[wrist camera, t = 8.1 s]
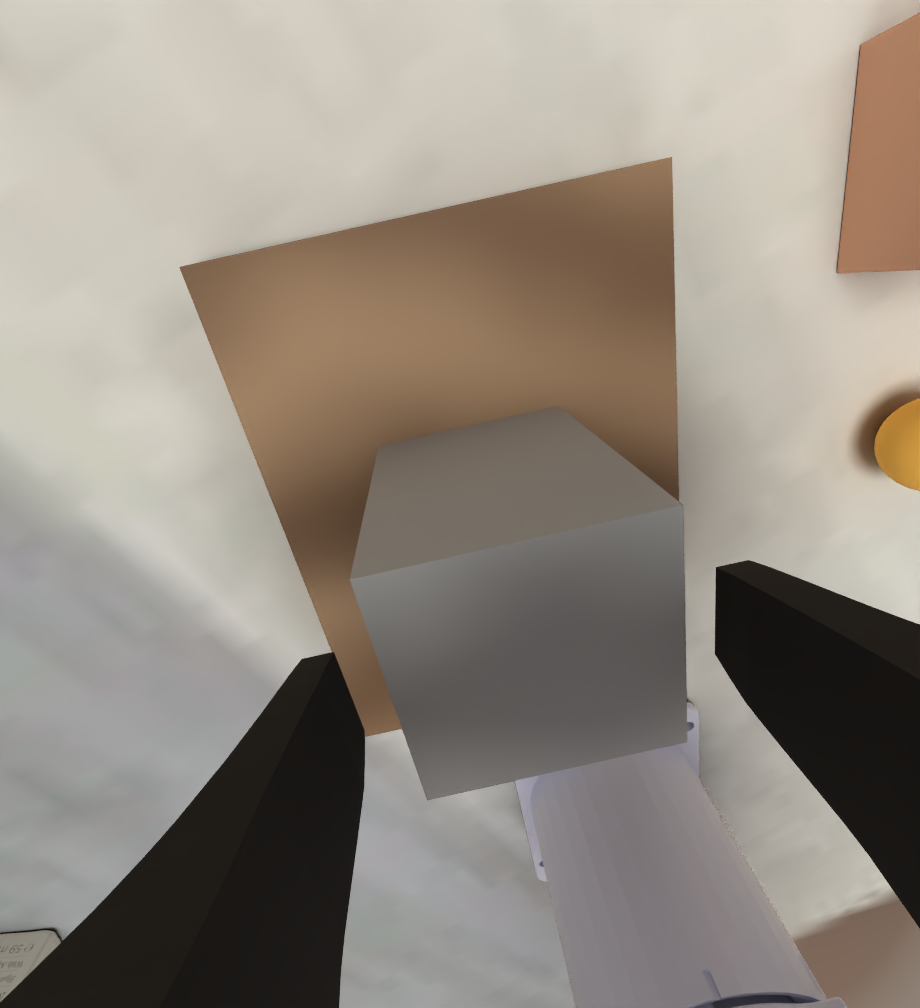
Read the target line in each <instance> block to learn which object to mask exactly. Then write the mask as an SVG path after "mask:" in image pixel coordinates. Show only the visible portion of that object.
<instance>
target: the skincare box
mask: <svg viewBox="0 0 920 1008" xmlns="http://www.w3.org/2000/svg"><path fill="white" fill-rule="evenodd" d="M60 943H61V941H60V939H59V938H58V936H57V935H56V933H55V932H53V931H49V930H41V931H34V932H22V933H8V934H0V1002H1V1001H2V1000H3V999H4V998H5V997H6V996H7V995H8V994H9V993H10V992H11V991H12V990H13V989H14V988H15V987H16V986H17V985H18V984H19V983H20V982H21V981H22V980H23V979H24V978H25V977H27V976H28V975H29V974H30V973H31V972H32V971H33V970H34V969H35V968H36V967H37V966H38V965H39V964H40V963H41V962H42V961H43V960H44V959H45V958H46V957H47V956H48V955H49V954H50V953H51V952H52V951H53V950H54V949H55V948H56V947H57V946H58V945H59V944H60Z"/></svg>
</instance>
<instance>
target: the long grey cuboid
mask: <svg viewBox="0 0 920 1008" xmlns="http://www.w3.org/2000/svg"><path fill="white" fill-rule="evenodd" d="M350 582H351V585H352V588H353V591H354V594H355V596H356V599H357V602H358V605H359V608H360V611H361V613H362V616H363V619H364V622H365V625H366V628H367V630H368V633H369V636H370V639H371V642H372V645H373V647H374V650H375V653H376V656H377V659H378V662H379V664H380V667H381V670H382V673H383V676H384V679H385V681H386V684H387V687H388V690H389V693H390V696H391V698H392V701H393V704H394V707H395V710H396V713H397V715H398V718H399V721H400V724H401V727H402V730H403V732H404V735H405V738H406V741H407V744H408V747H409V749H410V752H411V755H412V758H413V761H414V764H415V767H416V769H417V772H418V775H419V778H420V781H421V784H422V786H423V789H424V792H425V795H426V798H427V800H431V799H435V798H440V797H444V796H449V795H453V794H458V793H462V792H467V791H471V790H476V789H480V788H485V787H489V786H493V785H498V784H502V783H507V782H511V781H516V780H520V779H525V778H529V777H534V776H538V775H543V774H547V773H552V772H556V771H561V770H565V769H570V768H574V767H579V766H583V765H588V764H592V763H597V762H601V761H606V760H610V759H615V758H619V757H624V756H628V755H633V754H637V753H641V752H646V751H650V750H655V749H659V748H664V747H668V746H673V745H677V744H682V743H686V742H687V689H686V633H685V577H684V521H683V505H682V504H681V503H680V502H679V501H677V500H676V499H675V498H674V497H672V496H671V495H670V494H669V493H667V492H666V491H665V490H664V489H662V488H661V487H660V486H659V485H657V484H656V483H655V482H654V481H652V480H651V479H650V478H649V477H647V476H646V475H645V474H644V473H642V472H641V471H640V470H639V469H637V468H636V467H635V466H634V465H632V464H631V463H630V462H629V461H627V460H626V459H625V458H624V457H622V456H621V455H620V454H619V453H617V452H616V451H615V450H614V449H612V448H611V447H610V446H609V445H607V444H606V443H605V442H604V441H602V440H601V439H600V438H599V437H597V436H596V435H595V434H594V433H592V432H591V431H590V430H589V429H587V428H586V427H585V426H584V425H582V424H581V423H580V422H579V421H577V420H576V419H575V418H574V417H572V416H571V415H570V414H569V413H567V412H566V411H565V410H564V409H562V408H561V407H560V406H555V407H550V408H546V409H541V410H537V411H532V412H528V413H523V414H519V415H515V416H510V417H506V418H501V419H497V420H492V421H488V422H483V423H479V424H474V425H470V426H466V427H461V428H457V429H452V430H448V431H443V432H439V433H434V434H430V435H425V436H421V437H417V438H412V439H408V440H403V441H399V442H394V443H390V444H385V445H381V446H379V447H378V452H377V456H376V461H375V465H374V470H373V475H372V479H371V484H370V488H369V493H368V498H367V502H366V507H365V511H364V516H363V521H362V525H361V530H360V534H359V539H358V544H357V548H356V553H355V558H354V562H353V567H352V571H351V576H350Z"/></svg>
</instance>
